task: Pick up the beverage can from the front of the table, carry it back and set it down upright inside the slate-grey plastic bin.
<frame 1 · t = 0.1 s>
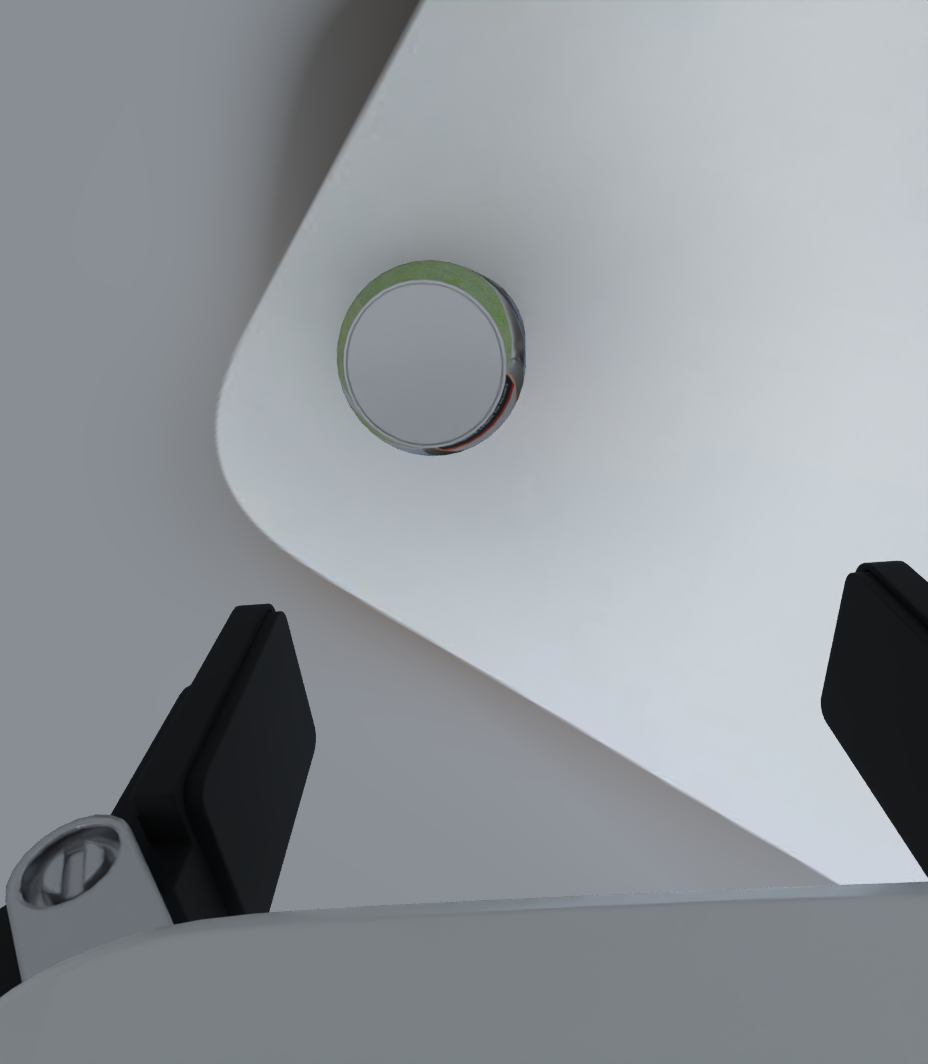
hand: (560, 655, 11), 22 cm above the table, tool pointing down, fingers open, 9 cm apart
beverage can: (451, 323, 31), on the table
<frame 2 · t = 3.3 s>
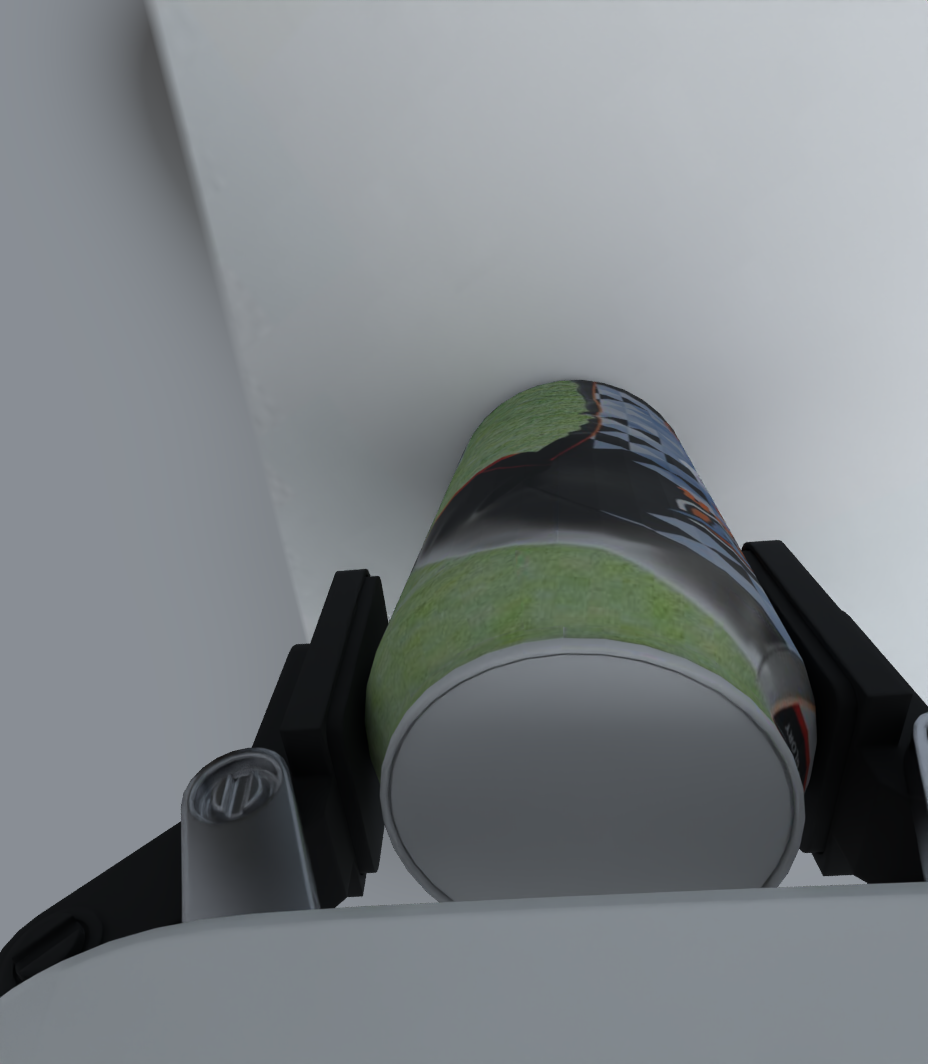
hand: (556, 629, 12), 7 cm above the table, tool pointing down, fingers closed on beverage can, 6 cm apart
beverage can: (540, 467, 18), on the table, touching gripper
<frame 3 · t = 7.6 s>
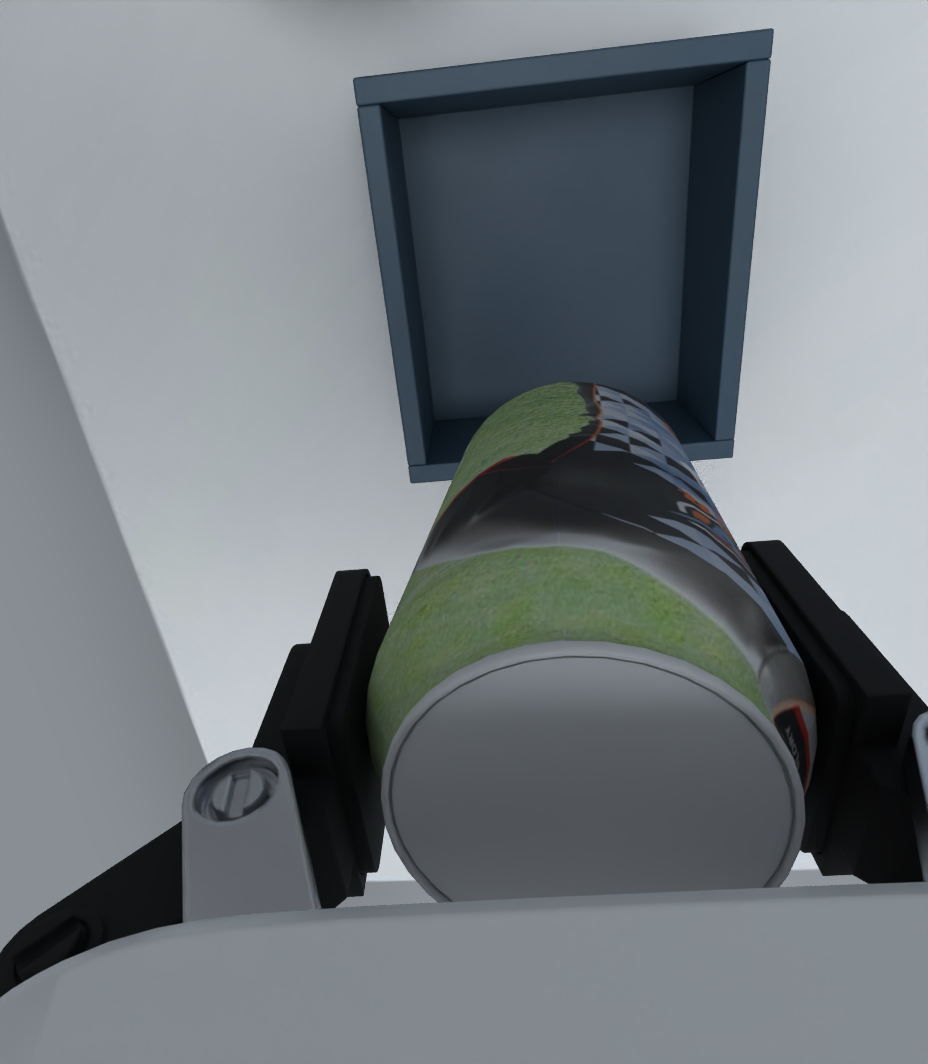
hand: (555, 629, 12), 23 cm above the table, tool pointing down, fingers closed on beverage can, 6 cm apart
bin: (548, 269, 31), on the table
beverage can: (540, 468, 18), point 16 cm above the table, touching gripper
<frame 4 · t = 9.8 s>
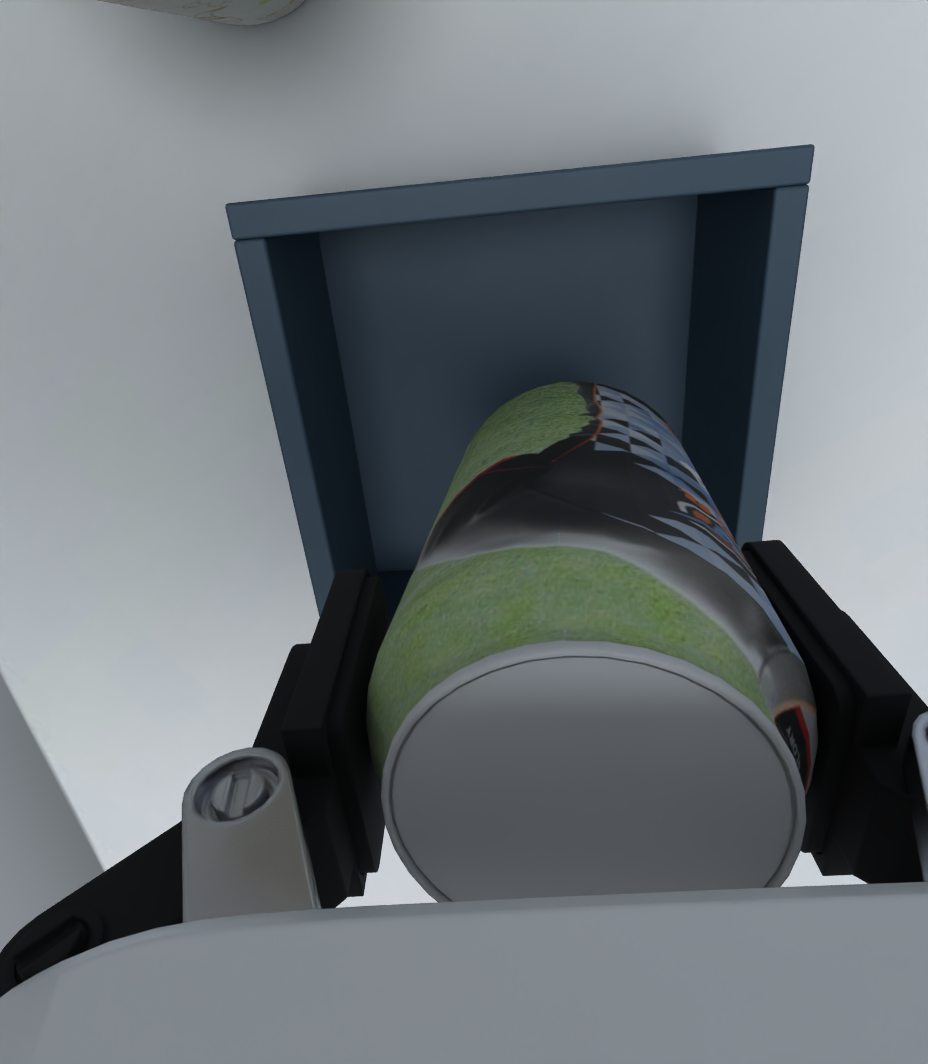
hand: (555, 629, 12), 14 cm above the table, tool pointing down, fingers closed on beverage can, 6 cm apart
bin: (514, 399, 25), on the table
beverage can: (540, 468, 18), point 7 cm above the table, touching gripper
when the fingers open (8 cm above the table, at t = 11.8 s): beverage can stays where it is, resting on bin.
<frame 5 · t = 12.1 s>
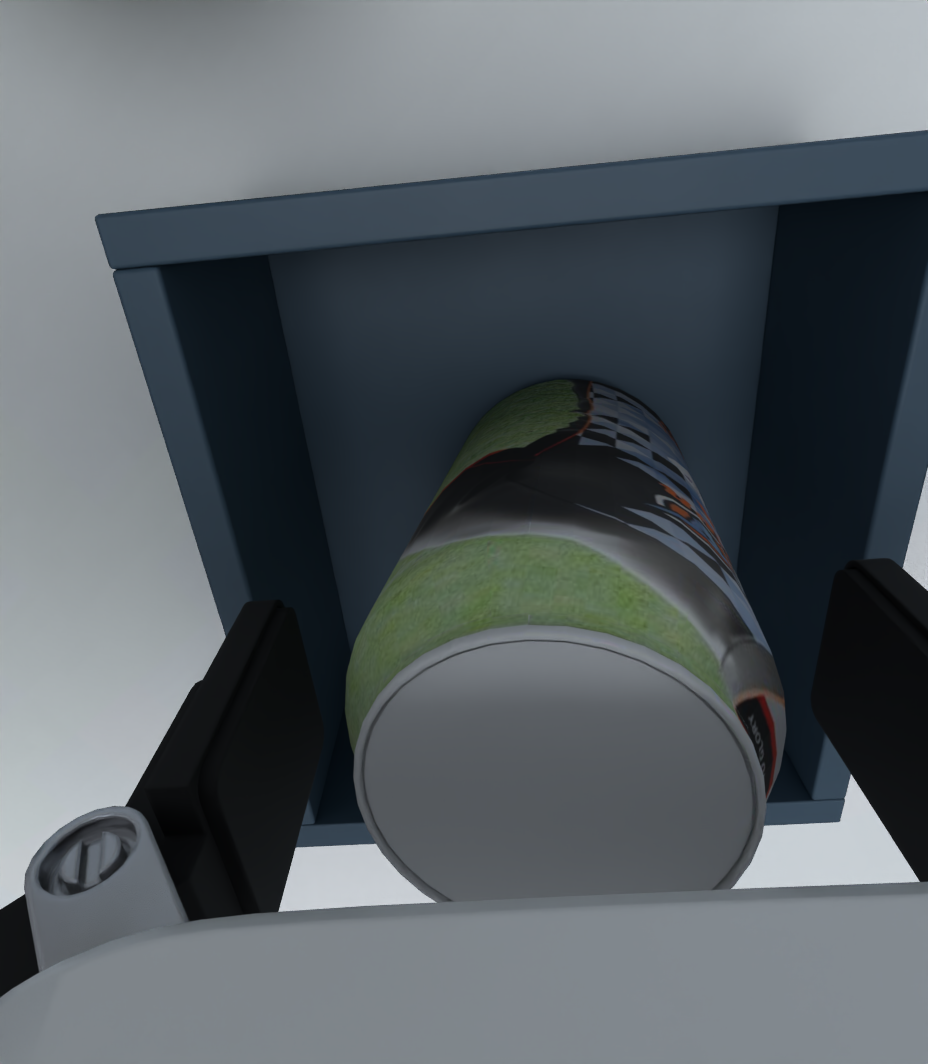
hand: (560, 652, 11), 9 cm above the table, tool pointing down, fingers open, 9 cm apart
bin: (527, 461, 19), on the table
beverage can: (538, 465, 19), point 1 cm above the table, touching bin
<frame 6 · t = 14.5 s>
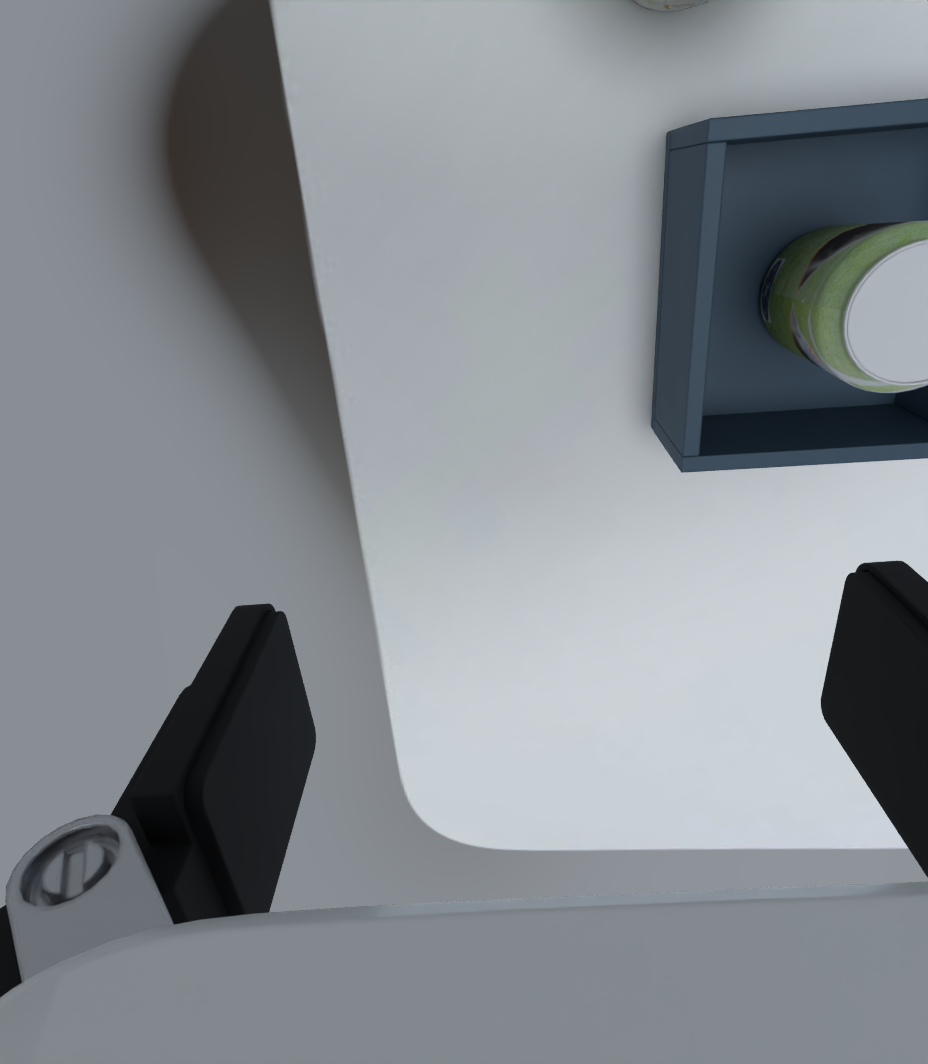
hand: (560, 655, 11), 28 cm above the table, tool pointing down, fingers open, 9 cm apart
bin: (791, 283, 34), on the table
beverage can: (802, 283, 34), point 1 cm above the table, touching bin
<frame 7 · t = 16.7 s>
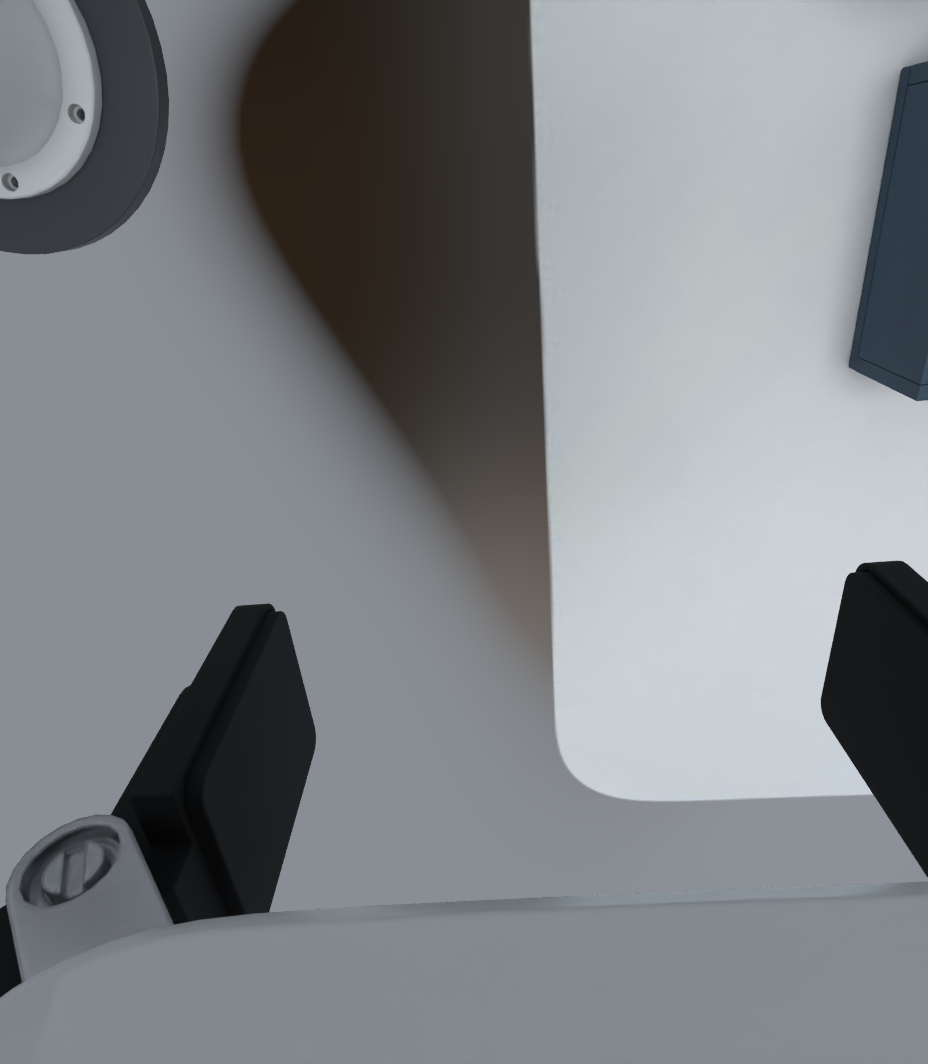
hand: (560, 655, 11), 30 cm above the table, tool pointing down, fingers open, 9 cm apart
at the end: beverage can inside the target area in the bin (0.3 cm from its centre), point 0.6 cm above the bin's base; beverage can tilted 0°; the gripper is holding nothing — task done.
